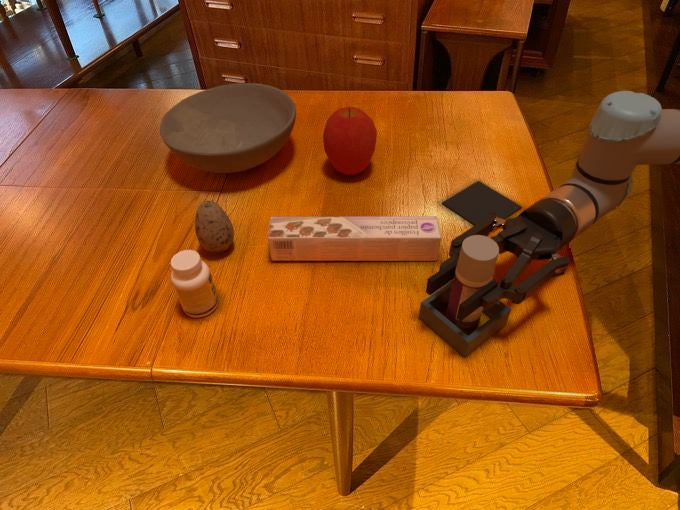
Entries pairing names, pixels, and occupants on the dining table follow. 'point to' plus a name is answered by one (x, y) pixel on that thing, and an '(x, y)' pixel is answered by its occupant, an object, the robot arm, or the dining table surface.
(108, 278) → the dining table surface
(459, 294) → the container
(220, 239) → the decorative egg
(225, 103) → the bowl
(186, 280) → the supplement bottle
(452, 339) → the open box
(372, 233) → the box
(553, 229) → the robot arm
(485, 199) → the coaster
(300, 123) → the dining table surface
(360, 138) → the apple
